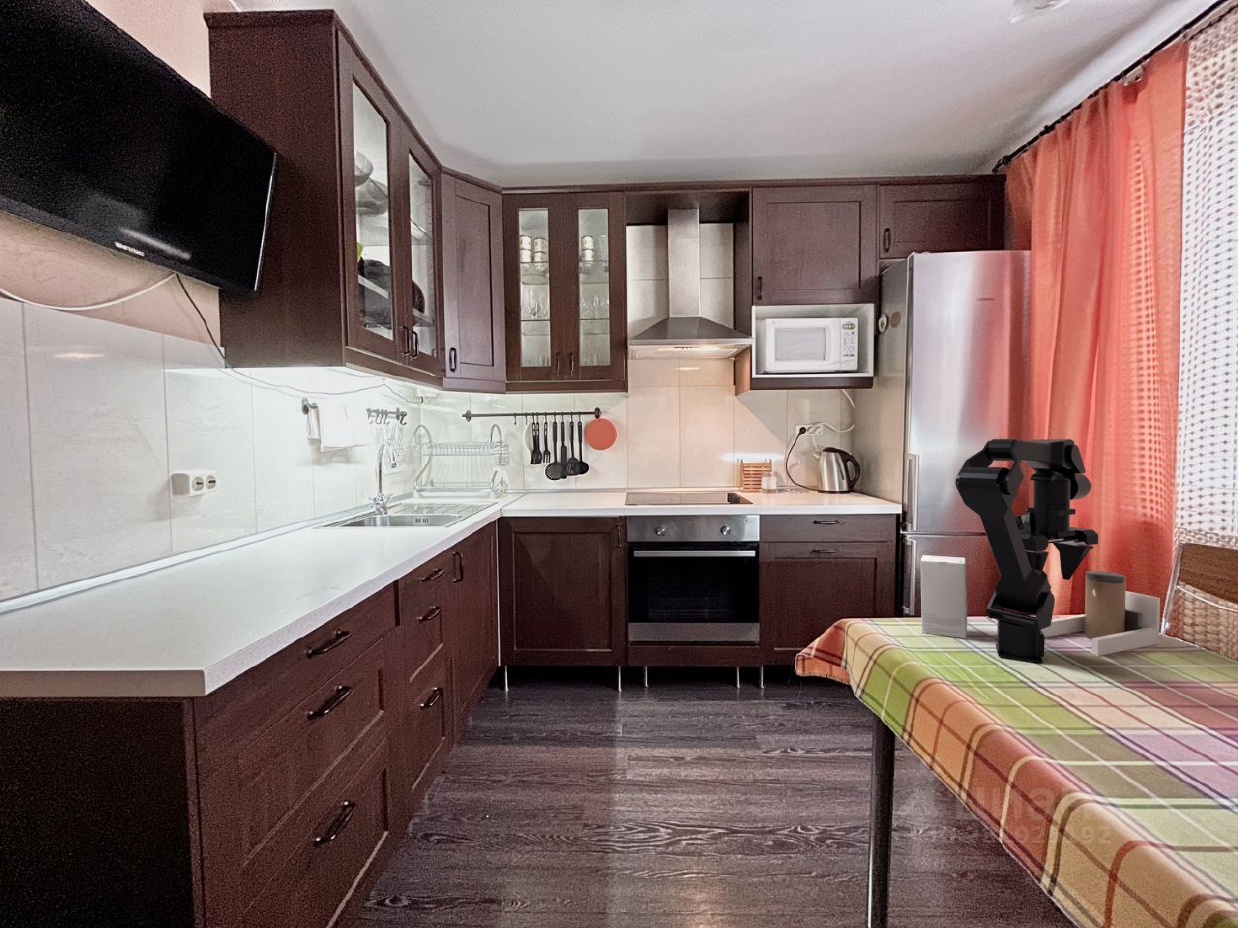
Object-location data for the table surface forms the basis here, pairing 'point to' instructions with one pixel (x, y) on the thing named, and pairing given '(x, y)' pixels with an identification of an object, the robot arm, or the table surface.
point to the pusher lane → (1120, 640)
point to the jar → (1104, 604)
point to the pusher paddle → (1132, 620)
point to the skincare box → (944, 596)
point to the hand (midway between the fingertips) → (1050, 581)
